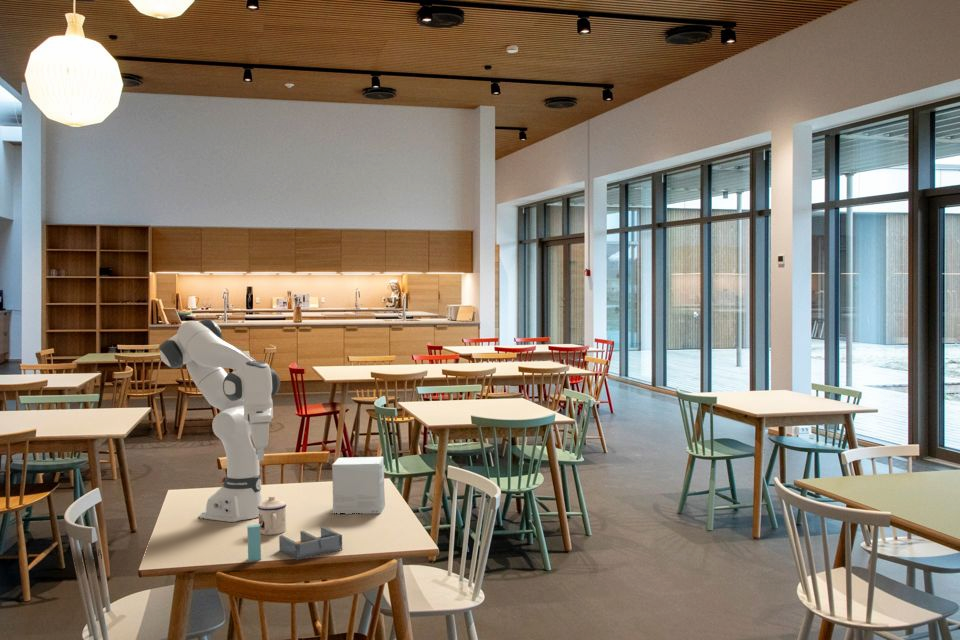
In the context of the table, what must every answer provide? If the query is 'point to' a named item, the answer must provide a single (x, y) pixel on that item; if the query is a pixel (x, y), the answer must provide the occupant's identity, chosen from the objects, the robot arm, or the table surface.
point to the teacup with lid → (272, 516)
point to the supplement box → (358, 485)
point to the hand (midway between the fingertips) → (259, 457)
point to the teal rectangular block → (254, 542)
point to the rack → (311, 544)
